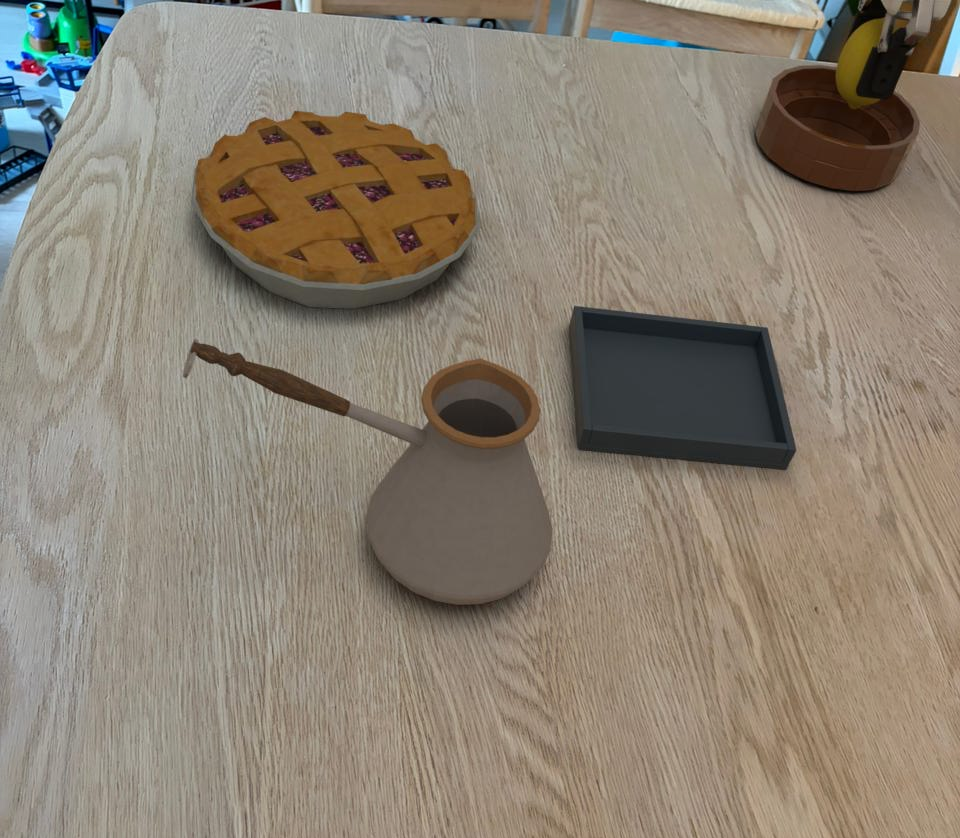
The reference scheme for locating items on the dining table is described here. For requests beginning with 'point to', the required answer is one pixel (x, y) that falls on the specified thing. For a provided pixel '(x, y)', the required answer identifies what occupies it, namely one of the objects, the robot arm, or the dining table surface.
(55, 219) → the dining table surface
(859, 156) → the bowl
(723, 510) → the dining table surface
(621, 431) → the tray
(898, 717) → the dining table surface
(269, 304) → the dining table surface
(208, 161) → the pie
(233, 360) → the coffee pot
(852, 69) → the lemon
